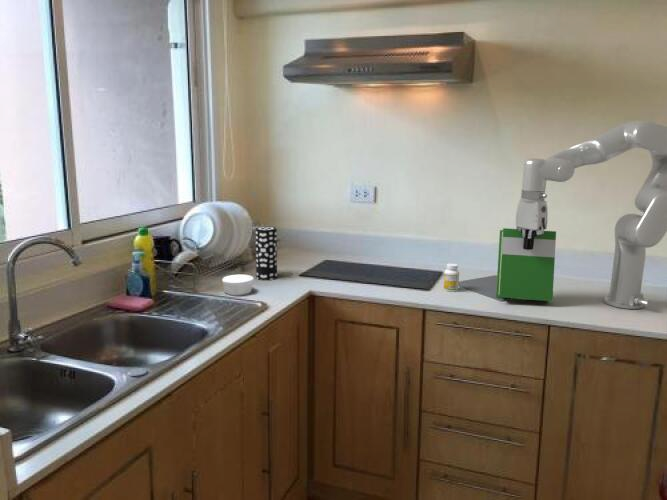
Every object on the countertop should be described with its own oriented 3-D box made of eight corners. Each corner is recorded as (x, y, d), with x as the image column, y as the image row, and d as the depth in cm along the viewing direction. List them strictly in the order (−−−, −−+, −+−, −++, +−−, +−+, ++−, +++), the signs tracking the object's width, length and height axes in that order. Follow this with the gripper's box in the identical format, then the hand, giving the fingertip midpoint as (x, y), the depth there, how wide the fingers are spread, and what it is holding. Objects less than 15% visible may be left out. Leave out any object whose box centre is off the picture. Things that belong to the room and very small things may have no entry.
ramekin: (216, 294, 205) (216, 280, 204) (233, 286, 215) (232, 272, 214) (243, 298, 201) (243, 283, 200) (259, 289, 211) (259, 276, 210)
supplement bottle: (448, 286, 217) (450, 262, 215) (460, 289, 213) (462, 264, 211) (440, 289, 213) (442, 264, 211) (452, 292, 210) (454, 267, 208)
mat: (547, 292, 212) (547, 291, 212) (501, 301, 200) (501, 300, 200) (495, 275, 234) (495, 275, 234) (451, 283, 222) (451, 282, 222)
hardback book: (499, 297, 196) (503, 228, 198) (496, 296, 204) (499, 230, 205) (552, 301, 194) (556, 231, 195) (546, 300, 202) (550, 233, 203)
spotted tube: (280, 278, 226) (280, 229, 222) (262, 281, 221) (261, 231, 217) (271, 273, 233) (270, 225, 228) (252, 276, 228) (251, 227, 224)
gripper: (559, 197, 186) (553, 252, 190) (523, 192, 199) (518, 244, 203) (543, 199, 183) (538, 254, 187) (507, 193, 195) (503, 246, 199)
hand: (528, 249), depth 195 cm, fingers closed
